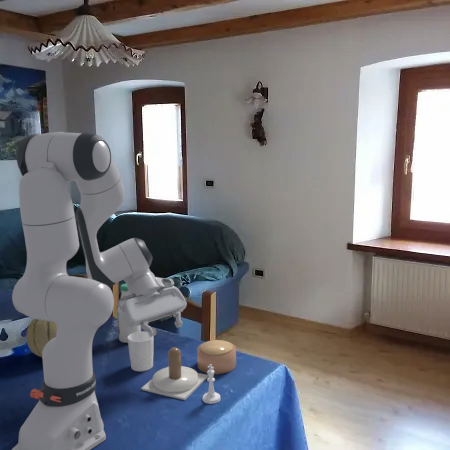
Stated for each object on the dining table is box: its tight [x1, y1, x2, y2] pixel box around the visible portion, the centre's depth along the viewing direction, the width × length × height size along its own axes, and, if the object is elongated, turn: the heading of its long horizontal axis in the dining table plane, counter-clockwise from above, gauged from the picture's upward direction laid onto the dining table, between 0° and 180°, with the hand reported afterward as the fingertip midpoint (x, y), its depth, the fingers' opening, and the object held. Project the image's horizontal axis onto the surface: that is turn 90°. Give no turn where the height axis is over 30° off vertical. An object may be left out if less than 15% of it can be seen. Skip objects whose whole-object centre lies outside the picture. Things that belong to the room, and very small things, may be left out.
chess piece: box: [201, 364, 221, 405], centre depth 130 cm, size 5×5×10 cm
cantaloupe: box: [26, 318, 57, 358], centre depth 158 cm, size 15×15×15 cm
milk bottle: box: [117, 283, 142, 344], centre depth 169 cm, size 8×8×20 cm
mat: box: [141, 366, 209, 401], centre depth 139 cm, size 14×14×1 cm
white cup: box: [127, 330, 155, 372], centre depth 149 cm, size 8×8×10 cm
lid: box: [152, 346, 198, 393], centre depth 138 cm, size 13×13×10 cm
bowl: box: [196, 339, 237, 375], centre depth 150 cm, size 12×12×6 cm
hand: (167, 330), depth 138 cm, fingers open, 8 cm apart
